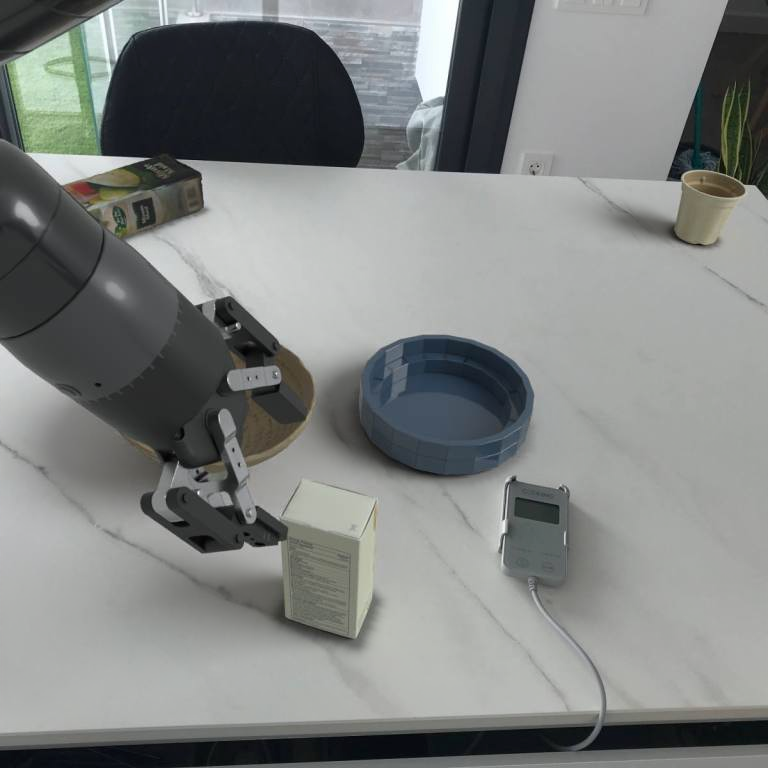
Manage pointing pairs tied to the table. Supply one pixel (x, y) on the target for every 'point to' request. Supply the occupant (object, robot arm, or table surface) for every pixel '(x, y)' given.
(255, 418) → the bowl
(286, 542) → the cosmetic box
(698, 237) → the flower pot
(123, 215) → the juice carton
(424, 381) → the serving bowl
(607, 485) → the table surface
